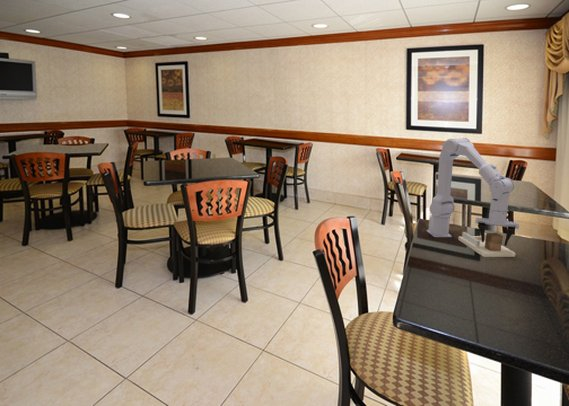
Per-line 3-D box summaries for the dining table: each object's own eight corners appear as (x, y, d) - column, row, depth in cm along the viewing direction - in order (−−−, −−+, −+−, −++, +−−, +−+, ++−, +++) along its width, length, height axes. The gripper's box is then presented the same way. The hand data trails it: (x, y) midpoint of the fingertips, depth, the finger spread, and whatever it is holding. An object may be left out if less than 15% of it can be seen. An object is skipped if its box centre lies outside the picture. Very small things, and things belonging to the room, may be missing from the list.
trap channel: (458, 239, 154) (459, 231, 153) (485, 239, 154) (486, 231, 153) (483, 257, 134) (484, 248, 134) (515, 256, 134) (516, 248, 134)
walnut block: (484, 247, 140) (486, 232, 139) (494, 247, 140) (496, 232, 139) (490, 250, 136) (492, 236, 135) (500, 250, 136) (502, 236, 135)
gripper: (521, 210, 134) (516, 243, 137) (478, 205, 142) (474, 237, 145) (520, 214, 128) (515, 249, 131) (476, 208, 136) (472, 242, 139)
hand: (494, 243), depth 138 cm, fingers open, 7 cm apart
